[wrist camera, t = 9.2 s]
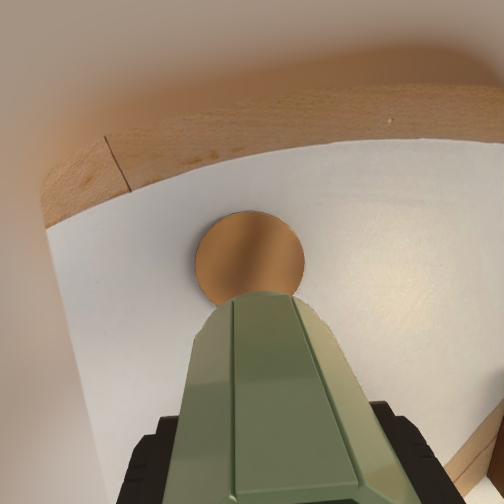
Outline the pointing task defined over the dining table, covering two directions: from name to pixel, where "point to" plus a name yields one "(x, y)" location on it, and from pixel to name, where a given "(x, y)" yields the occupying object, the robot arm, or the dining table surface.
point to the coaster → (248, 257)
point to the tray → (498, 463)
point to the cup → (277, 415)
